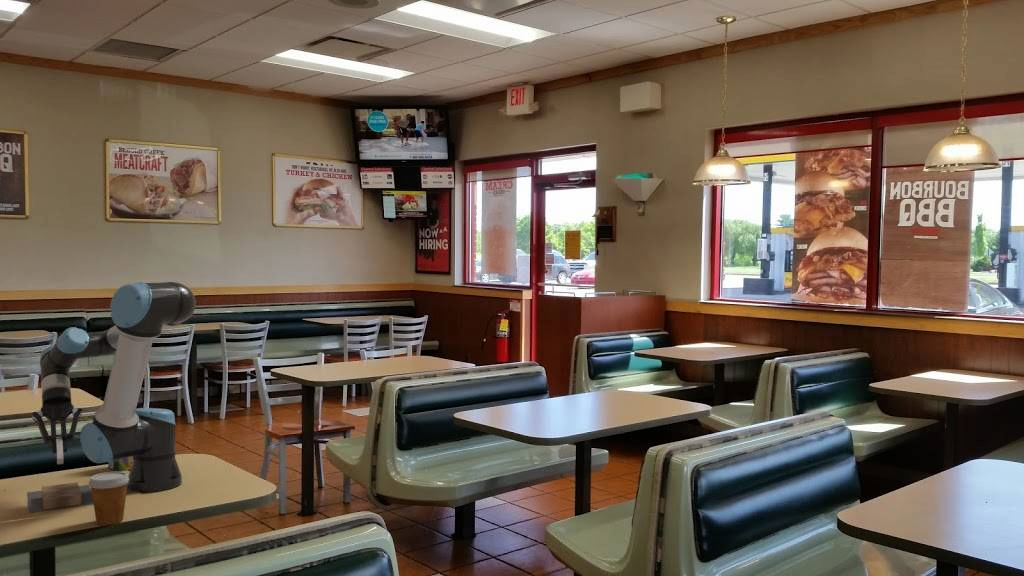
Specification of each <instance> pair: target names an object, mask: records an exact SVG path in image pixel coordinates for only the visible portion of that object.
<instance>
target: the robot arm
mask: <svg viewBox="0 0 1024 576" xmlns="http://www.w3.org/2000/svg"><path fill="white" fill-rule="evenodd" d="M196 304H197V301H196V296H195V295H194V293H193V291H192V290H191V288H189V287H188V286H186V285H184V284H183V283H180V282H177V281H167V282H166V281H165V282H161V281H160V282H133V283H127V284H124V285H122V286H120V287H119V288H118V289H117V290H116V291H115V293H113V296H112V297H111V301H110V307H109V310H110V312H111V313H110V317H111V319H112V321H113V323H114V325H113V326H111V327H110V328H108V329H106V330H104V331H96V332H95V331H93V332H86V331H85V330H84V329H82V328H77V327H76V326H75V327H73V326H71V327H68V328H66V329H65V330H64V331H63V332H62V333H61V334H60V335H59V336H58V338H57V340H56V341H55V343H54V345H53V346H49V347H47V348H46V349H43V350H42V352H41V354H40V356H39V357H40V358H39V359H40V360H39V366H40V380H41V381H40V384H41V386H40V387H41V401H42V402H41V404H42V406H41V408H40V410H38V411H33V412H32V421H34V422H35V423H36V425H37V427H38V430H39V433H40V435H41V438H42V440H43V442H44V444H51V452H52V453H51V454H56V465H63V464H64V453H67V451H68V442H69V441H70V442H73V441H74V438H75V434H76V432H77V431H76V430H77V426H78V422H79V419H80V418H81V417H82V415H83V409H82V408H81V407H80V408H76V407H75V406H74V404H73V403H72V393H71V379H70V375H71V374H70V369H72V367H73V366H74V364H75V363H76V362H77V360H80V359H87V358H98V357H106V356H114V357H113V360H112V361H113V362H112V365H111V370H110V373H109V378H108V382H107V387H106V390H105V395H104V400H103V403H102V407H101V408H99V409H97V410H96V411H95V413H94V415H93V420H92V422H87V423H86V424H85V425H83V426H82V427H81V429H80V436H79V438H80V439H79V440H80V445H81V448H82V451H83V452H84V454H85V456H86V457H87V459H89V460H90V461H91V462H92V463H95V464H103V463H108V462H111V461H113V460H118V459H122V458H126V457H131V456H133V464H132V467H131V470H129V474H128V477H129V481H128V483H127V490H130V491H135V492H140V493H148V492H149V493H150V492H161V491H165V490H166V489H167V490H170V488H171V489H174V488H177V487H179V486H181V485H182V483H183V480H182V479H183V476H182V473H181V469H180V467H179V465H178V461H177V459H176V427H175V426H176V421H175V420H176V418H175V412H173V410H171V409H167V408H156V407H155V408H154V407H144V408H143V407H139V408H137V406H138V401H139V398H140V394H141V389H142V385H143V381H144V378H145V374H146V370H147V365H148V363H149V362H148V361H149V358H150V354H151V350H152V346H153V341H154V340H155V339H156V338H159V337H160V336H161V334H162V330H163V329H165V328H167V327H175V326H178V325H180V324H181V323H183V322H186V321H187V320H189V319H190V318H191V317H192V316H193V315H194V312H195V310H196V307H197V305H196ZM71 414H72V416H73V417H72V422H71V425H70V429H69V433H68V434H67V422H66V421H67V419H68V418H69V417H70V415H71ZM43 416H44V418H45V419H47V420H48V421H50V435H49V432H48V431H47V428H46V425H45V422H44V420H43ZM57 421H58V422H59V421H60V434H61V435H60V436H61V439H60V438H59V439H57V427H56V426H57V425H56V423H57ZM178 485H179V486H178ZM176 486H177V487H176Z"/></svg>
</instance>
